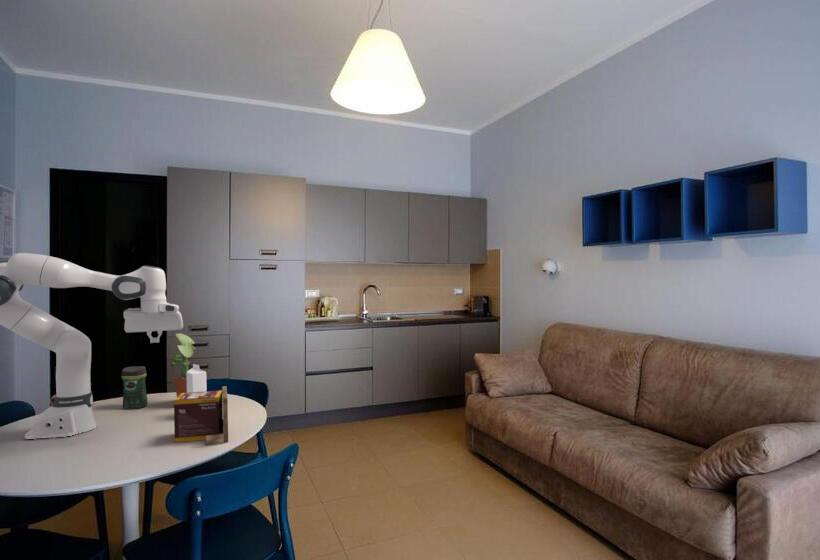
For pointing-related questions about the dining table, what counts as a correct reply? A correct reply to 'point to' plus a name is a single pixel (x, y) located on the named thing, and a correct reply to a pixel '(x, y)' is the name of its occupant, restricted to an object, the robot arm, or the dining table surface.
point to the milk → (196, 380)
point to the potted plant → (182, 362)
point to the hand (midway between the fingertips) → (154, 342)
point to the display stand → (223, 437)
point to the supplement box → (197, 415)
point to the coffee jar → (134, 387)
